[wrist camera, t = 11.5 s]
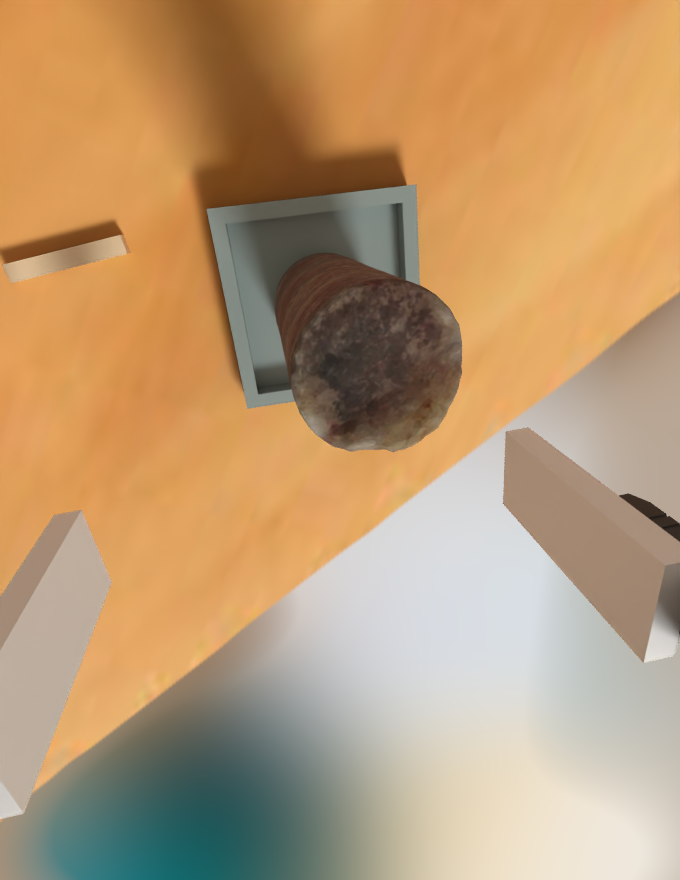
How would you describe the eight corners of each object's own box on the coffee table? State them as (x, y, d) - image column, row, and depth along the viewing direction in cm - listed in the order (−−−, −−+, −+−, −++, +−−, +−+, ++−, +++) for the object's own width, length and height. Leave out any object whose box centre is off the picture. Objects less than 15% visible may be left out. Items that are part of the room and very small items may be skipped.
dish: (248, 398, 39) (247, 408, 37) (209, 209, 33) (206, 208, 31) (415, 373, 41) (422, 381, 39) (407, 186, 34) (416, 184, 33)
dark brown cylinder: (296, 229, 34) (336, 245, 16) (387, 272, 36) (512, 328, 18) (259, 330, 37) (258, 441, 19) (346, 364, 39) (421, 494, 21)
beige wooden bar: (19, 281, 34) (11, 283, 33) (10, 263, 33) (1, 264, 32) (131, 252, 34) (127, 253, 33) (124, 234, 33) (119, 234, 32)
